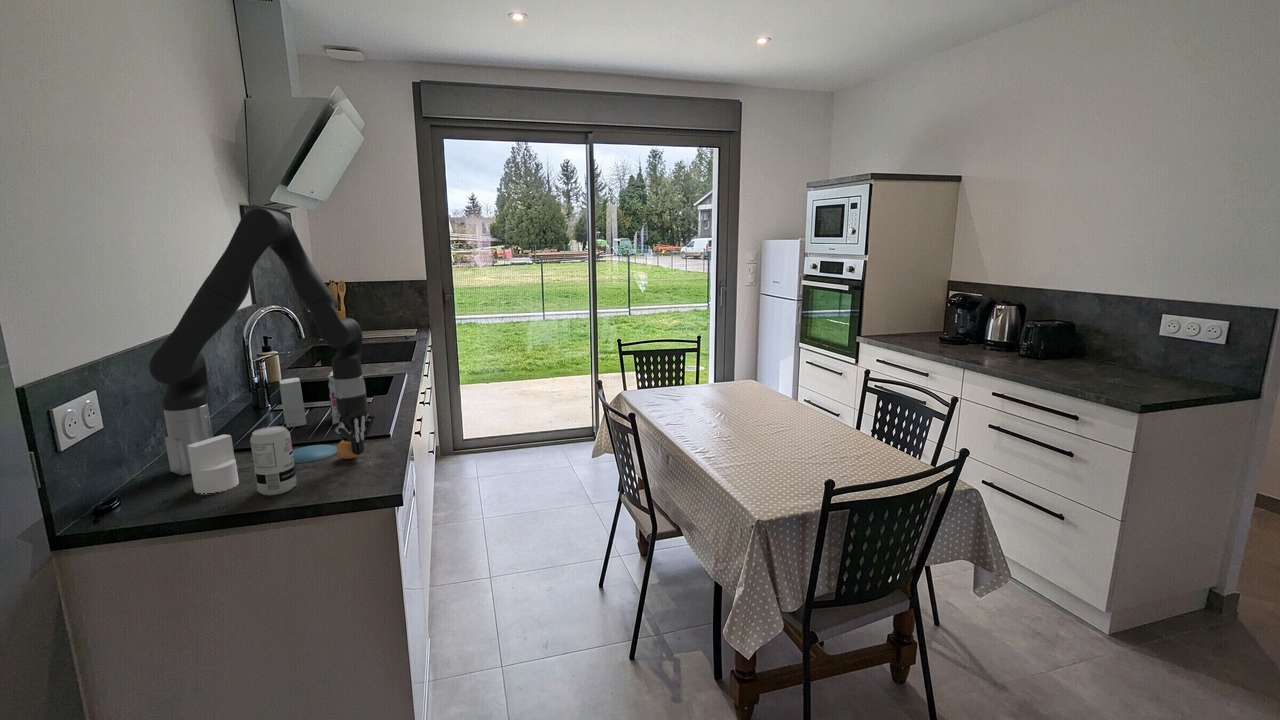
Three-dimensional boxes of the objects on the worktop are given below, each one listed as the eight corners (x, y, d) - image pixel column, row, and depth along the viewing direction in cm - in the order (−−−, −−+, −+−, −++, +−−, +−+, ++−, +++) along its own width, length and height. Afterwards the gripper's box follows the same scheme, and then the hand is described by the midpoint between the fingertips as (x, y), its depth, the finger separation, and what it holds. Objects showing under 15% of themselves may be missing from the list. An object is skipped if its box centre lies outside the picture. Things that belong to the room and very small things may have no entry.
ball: (345, 442, 159) (329, 443, 160) (350, 461, 160) (334, 462, 161) (360, 435, 164) (345, 436, 166) (365, 454, 165) (350, 455, 167)
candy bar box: (349, 423, 194) (343, 375, 191) (332, 425, 192) (326, 376, 189) (352, 414, 204) (347, 368, 201) (336, 415, 203) (331, 369, 199)
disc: (302, 466, 157) (301, 465, 157) (271, 457, 164) (270, 457, 164) (348, 450, 169) (348, 449, 169) (318, 442, 176) (318, 441, 176)
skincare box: (307, 425, 192) (301, 381, 189) (285, 428, 189) (279, 383, 186) (304, 418, 199) (299, 376, 196) (284, 421, 196) (278, 378, 193)
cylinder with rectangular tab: (223, 477, 151) (216, 432, 148) (247, 482, 147) (240, 437, 145) (185, 491, 142) (177, 444, 140) (210, 496, 139) (202, 448, 137)
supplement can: (254, 489, 143) (245, 430, 140) (291, 479, 149) (284, 423, 146) (262, 499, 138) (253, 438, 135) (301, 489, 143) (293, 430, 140)
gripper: (357, 386, 165) (365, 444, 169) (319, 398, 153) (328, 461, 156) (379, 387, 163) (386, 446, 166) (342, 400, 150) (351, 463, 154)
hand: (358, 453), depth 161 cm, fingers closed
